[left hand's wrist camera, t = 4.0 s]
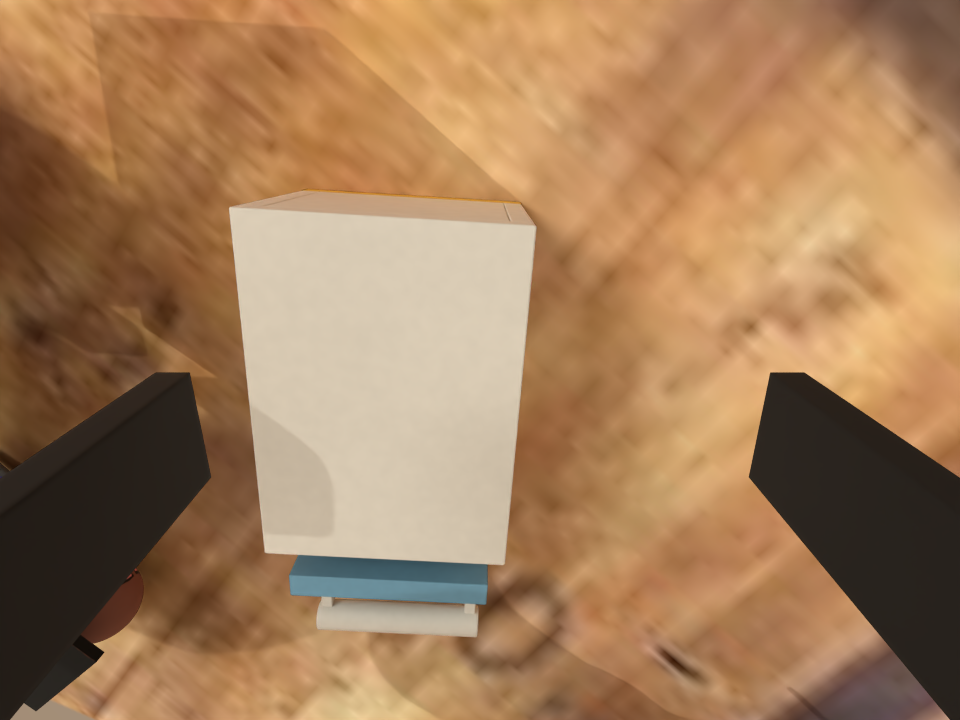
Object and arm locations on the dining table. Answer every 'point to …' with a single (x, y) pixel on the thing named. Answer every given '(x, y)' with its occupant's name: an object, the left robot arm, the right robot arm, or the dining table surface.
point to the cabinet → (384, 370)
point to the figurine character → (89, 637)
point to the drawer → (392, 594)
